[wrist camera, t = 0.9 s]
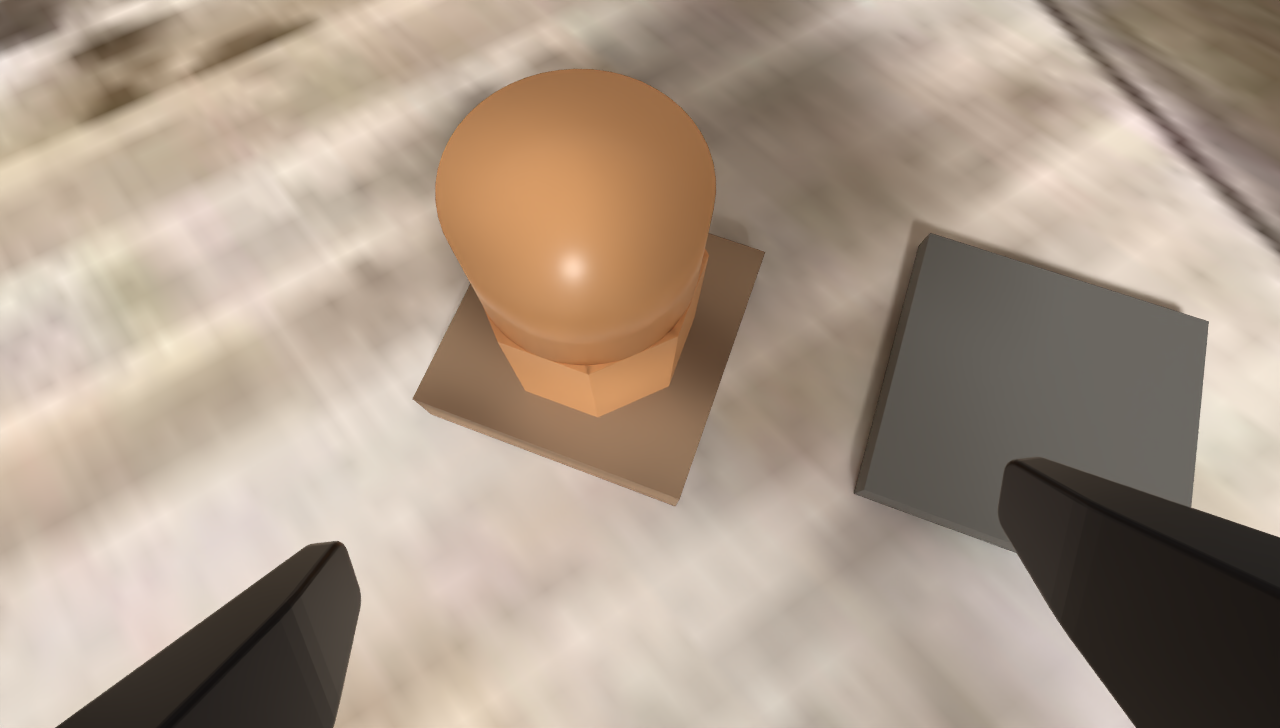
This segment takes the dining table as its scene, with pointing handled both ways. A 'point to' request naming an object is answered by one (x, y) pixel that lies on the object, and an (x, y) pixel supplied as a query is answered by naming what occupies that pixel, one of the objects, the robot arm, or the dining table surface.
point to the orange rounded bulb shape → (581, 231)
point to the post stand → (622, 439)
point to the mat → (1027, 388)
